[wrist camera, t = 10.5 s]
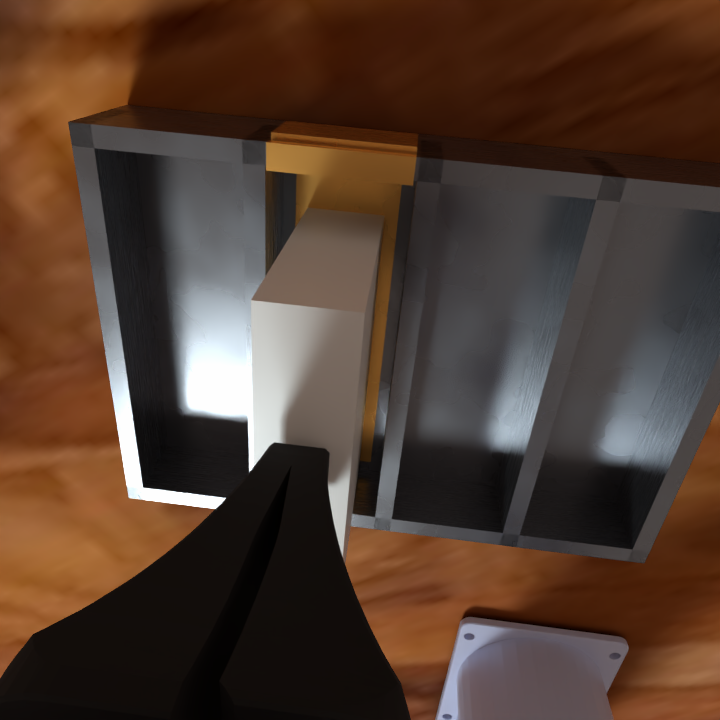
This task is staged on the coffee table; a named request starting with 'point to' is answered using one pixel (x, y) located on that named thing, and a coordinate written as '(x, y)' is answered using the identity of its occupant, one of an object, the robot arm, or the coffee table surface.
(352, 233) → the panel
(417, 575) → the coffee table surface
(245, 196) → the rack
